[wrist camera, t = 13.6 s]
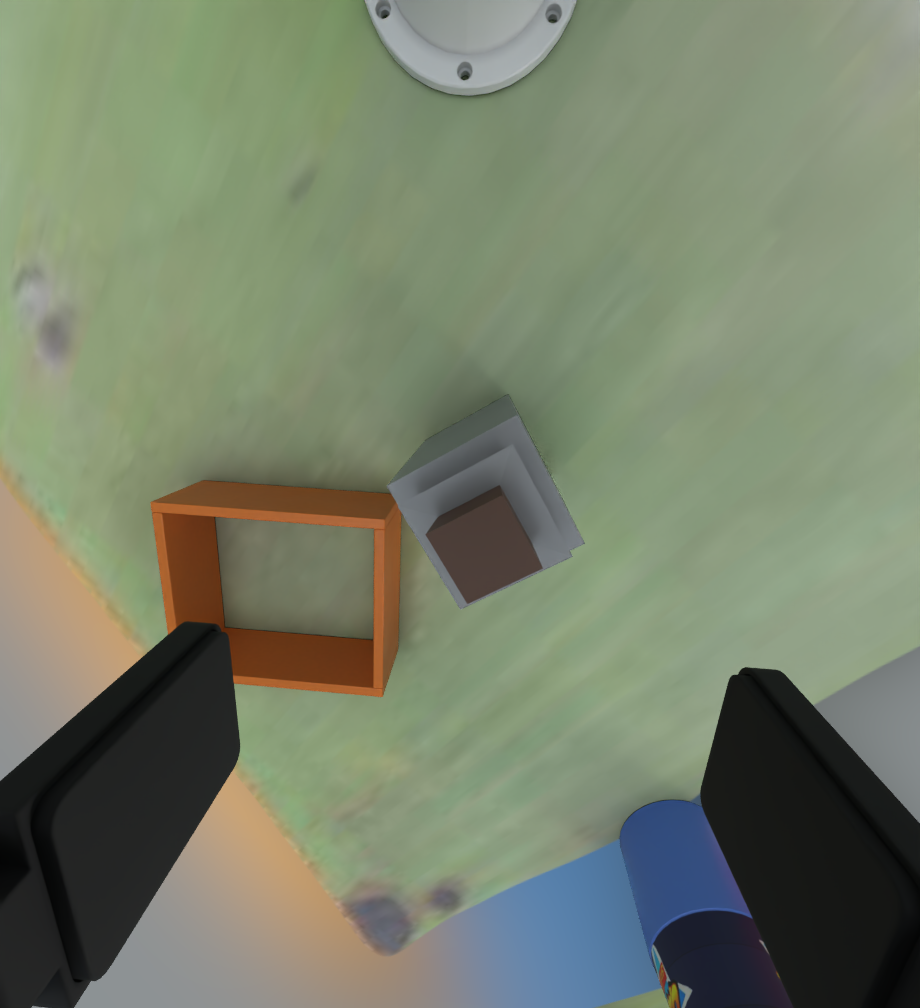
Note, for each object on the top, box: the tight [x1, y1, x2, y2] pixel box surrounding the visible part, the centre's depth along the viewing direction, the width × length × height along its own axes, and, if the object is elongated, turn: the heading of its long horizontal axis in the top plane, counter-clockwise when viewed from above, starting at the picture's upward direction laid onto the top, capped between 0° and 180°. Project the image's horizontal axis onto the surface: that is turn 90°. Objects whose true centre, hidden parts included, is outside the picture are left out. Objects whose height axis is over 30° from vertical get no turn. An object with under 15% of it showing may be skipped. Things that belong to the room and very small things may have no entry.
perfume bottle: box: [387, 394, 585, 609], centre depth 27 cm, size 7×7×18 cm
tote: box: [151, 480, 401, 697], centre depth 36 cm, size 13×15×6 cm
